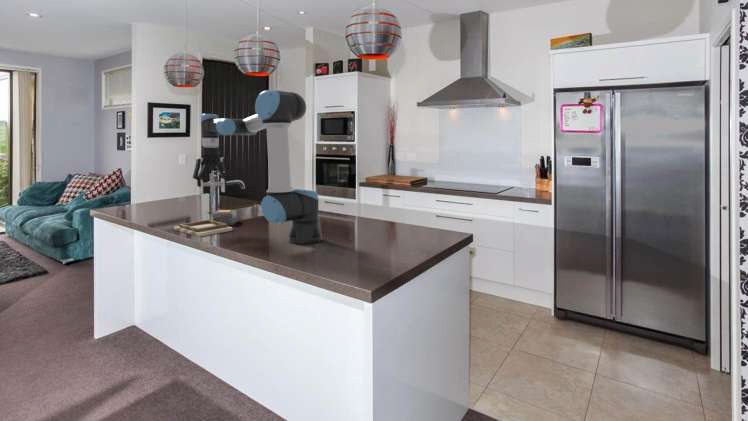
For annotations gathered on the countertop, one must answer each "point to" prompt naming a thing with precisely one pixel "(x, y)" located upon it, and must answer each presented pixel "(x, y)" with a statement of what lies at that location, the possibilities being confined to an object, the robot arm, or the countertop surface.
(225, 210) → the button
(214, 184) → the pipe connector
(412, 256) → the countertop surface
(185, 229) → the pallet
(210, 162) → the robot arm
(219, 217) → the button housing
